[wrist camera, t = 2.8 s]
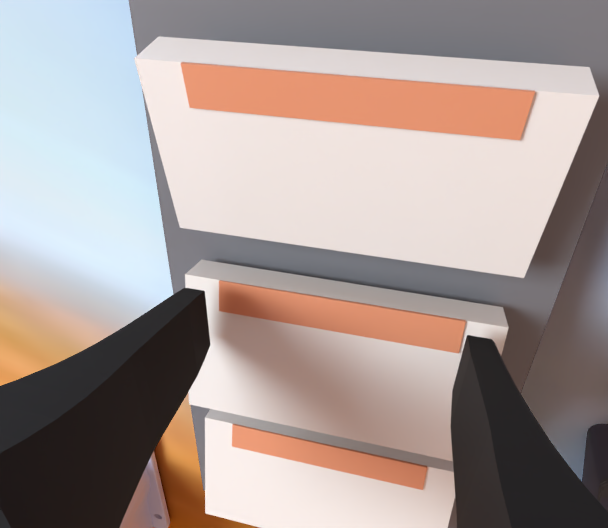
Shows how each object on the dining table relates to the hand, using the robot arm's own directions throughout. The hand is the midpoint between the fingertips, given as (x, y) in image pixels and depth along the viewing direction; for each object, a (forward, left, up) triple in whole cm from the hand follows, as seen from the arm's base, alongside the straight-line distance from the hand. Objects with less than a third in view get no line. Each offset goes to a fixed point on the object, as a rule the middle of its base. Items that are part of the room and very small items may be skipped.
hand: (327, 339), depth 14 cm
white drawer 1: (-8, 0, -1) cm, 8 cm away
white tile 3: (+5, 0, -1) cm, 5 cm away
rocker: (-2, 0, -1) cm, 2 cm away
